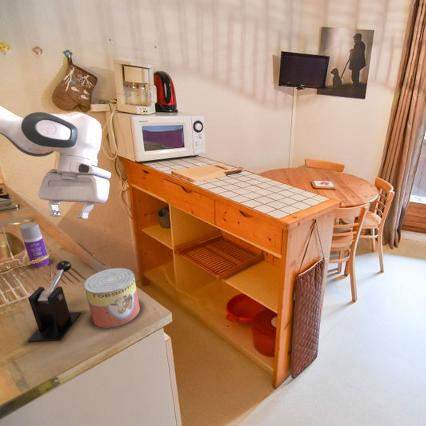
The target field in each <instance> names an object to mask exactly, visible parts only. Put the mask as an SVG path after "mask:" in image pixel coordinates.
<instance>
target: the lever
mask: <svg viewBox="0 0 426 426" xmlns="http://www.w3.org/2000/svg"><path fill="white" fill-rule="evenodd" d="M55 269H56V274H55V276H54V277H53V279H52V281H51V283H50V285H49V287H48V288H47V290H45V291H42V293H41V295H40V297H39V299H38V302H39V303H40V304H41V305H49V302H48V298H47V297H48V296H49V295H50V294H51V293H52V292H53V291H54V290H55V289H56V288H57V287H58V285H59V283H60V281H61V279H62V278H63V277H64V274H65V273H67V272H69V271H70V270H71V269H72V263H71V262H70V261H69V260H65V259H64V260H60V261H58V262H57V263H56V265H55Z"/></svg>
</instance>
